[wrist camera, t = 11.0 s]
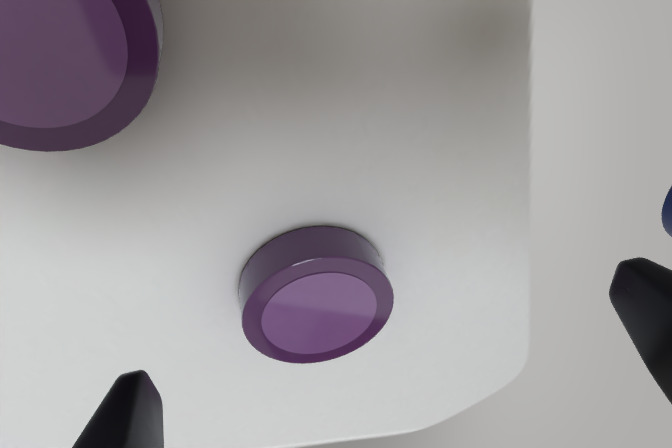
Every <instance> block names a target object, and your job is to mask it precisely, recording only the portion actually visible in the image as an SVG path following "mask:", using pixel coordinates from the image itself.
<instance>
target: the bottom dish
mask: <svg viewBox="0 0 672 448" xmlns="http://www.w3.org/2000/svg"><path fill="white" fill-rule="evenodd" d="M239 297H240V309H241V320H242V328H243V332H244V334H245V336H246V338H247V340H248V341H249V342H250V344H251V345H252V346H253V347H254V348H255V349H256V350H258V351H259V352H261V353H262V354H264V355H266V356H268V357H270V358H273V359H275V360H279V361H283V362H289V363H301V364H303V363H316V362H323V361H327V360H331V359H335V358H338V357H341V356H343V355H346V354H348V353H350V352H352V351H354V350H356V349H358V348H360V347H361V346H363V345H364V344H366V343H367V342H369V341H370V340H371V339H372V338H373V337H374V336H376V335H377V333H378V332H379V331H380V330H381V329H382V328H383V326H384V325H385V324H386V322H387V320H388V318H389V316H390V314H391V311H392V307H393V300H394V295H393V289H392V286H391V283H390V281H389V279H388V276H387V274H386V271H385V269H384V267H383V264H382V262H381V260H380V257H379V255H378V253H377V251H376V250H375V248H374V247H373V246H372V245H371V244H370V243H369V242H368V241H367V240H366V239H364V238H363V237H361V236H360V235H358V234H356V233H354V232H351V231H349V230H345V229H342V228H336V227H327V226H318V227H308V228H302V229H298V230H294V231H291V232H288V233H286V234H283V235H281V236H279V237H277V238H275V239H273V240H271V241H270V242H268V243H267V244H265V245H264V246H263V247H262V248H260V249H259V250H258V251H257V252H256V253H255V254H254V255H253V256H252V257H251V259H250V260H249V261H248V263H247V264H246V266H245V268H244V270H243V272H242V275H241V278H240V283H239Z"/></svg>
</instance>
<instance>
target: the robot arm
mask: <svg viewBox="0 0 672 448" xmlns="http://www.w3.org/2000/svg"><path fill="white" fill-rule="evenodd" d="M609 296H610V300H611V303H612V305H613V307H614V308H615V310H616V312H617V314H618V315H619V318H620V319H621V321H622V323H623V325H624V326H625V328H626V330H627V332H628V334H629V336H630V338H631V339H632V341H633V343H634V345H635V347H636V348H637V350H638V352H639V354H640V356H641V358H642V360H643V361H644V363H645V365H646V366H647V368H648V370H649V371H650V373H651V374H652V376H653V378H654V379H655V381H656V382H657V384H658V385H659V386H660V388H661V389H662V391H663V392H664V393H665V395H666V397H667V398H668V400H669V401H670V402H671V404H672V270H670V269H668V268H665V267H663V266H661V265H658V264H657V263H655V262H652V261H650V260H648V259H645V258H633V259H629V260H625V261H622V262H620V263H619V264H618V266H617V268H616V271H615V274H614V277H613V280H612V283H611V286H610V291H609ZM72 448H164V435H163V407H162V400H161V397H160V394H159V392H158V391H157V389H156V387H155V386H154V384H153V382H152V381H151V379H150V377H149V376H148V374H147V373H146V372H145V371H144V370H138V371H133V372H129V373H124V374H122V375H120V376H119V377H118V378H117V380H116V381H115V383H114V384H113V386H112V387H111V389H110V390H109V392H108V393H107V395H106V396H105V398H104V399H103V401H102V402H101V404H100V406H99V407H98V409H97V410H96V412H95V413H94V415H93V416H92V418H91V419H90V421H89V422H88V424H87V425H86V427H85V429H84V430H83V432H82V433H81V435H80V436H79V438H78V439H77V441H76V442H75V444H74V445H73V447H72Z"/></svg>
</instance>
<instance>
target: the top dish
mask: <svg viewBox="0 0 672 448" xmlns="http://www.w3.org/2000/svg"><path fill="white" fill-rule="evenodd" d="M162 45H163V19H162V11H161V7H160V3H159V0H0V144H2V145H6V146H9V147H13V148H19V149H25V150H31V151H45V152H51V151H67V150H74V149H80V148H84V147H88V146H91V145H94V144H97V143H99V142H102V141H104V140H107V139H109V138H110V137H112V136H114V135H116V134H117V133H119V132H120V131H122V130H123V129H124V128H125V127H127V126H128V125H129V124H130V123H131V122H132V121H133V120H134V119H135V118H136V117H137V116H138V115H139V114H140V112H141V111H142V109H143V108H144V107H145V105H146V104H147V102H148V100H149V98H150V96H151V94H152V92H153V89H154V86H155V82H156V79H157V75H158V69H159V63H160V57H161V51H162Z"/></svg>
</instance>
